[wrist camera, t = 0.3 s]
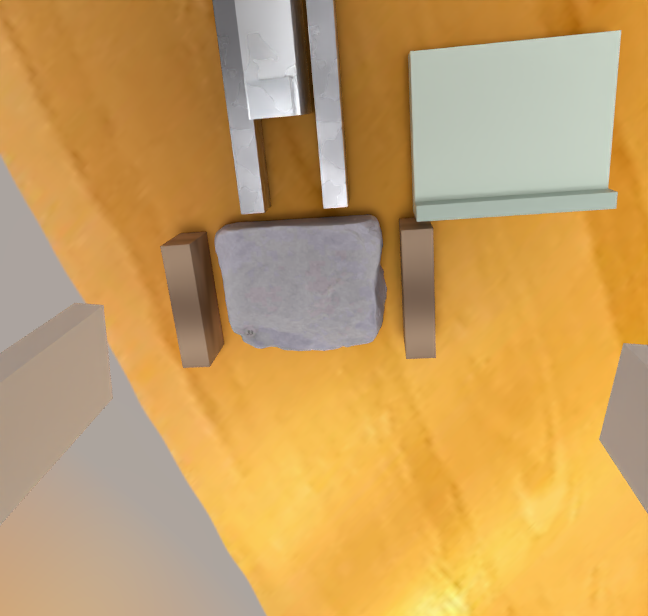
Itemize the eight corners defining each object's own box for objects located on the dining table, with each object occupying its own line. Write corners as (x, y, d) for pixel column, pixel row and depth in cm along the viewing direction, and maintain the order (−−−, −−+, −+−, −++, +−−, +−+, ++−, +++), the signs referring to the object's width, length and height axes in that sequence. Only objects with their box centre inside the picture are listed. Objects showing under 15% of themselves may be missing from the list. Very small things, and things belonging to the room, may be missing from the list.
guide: (215, -50, 35) (204, -61, 33) (330, -64, 34) (327, -76, 32) (249, 207, 40) (241, 214, 38) (349, 200, 39) (347, 206, 37)
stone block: (390, 320, 44) (382, 200, 39) (389, 356, 40) (381, 227, 35) (244, 326, 46) (219, 211, 41) (230, 361, 42) (199, 239, 37)
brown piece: (180, 233, 41) (160, 246, 38) (427, 216, 39) (433, 228, 36) (199, 345, 44) (183, 367, 41) (430, 335, 42) (435, 357, 39)
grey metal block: (252, -17, 35) (224, -45, 29) (300, -23, 35) (282, -52, 28) (267, 117, 38) (245, 119, 31) (311, 113, 38) (298, 115, 31)
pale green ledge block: (408, 54, 36) (411, 49, 32) (604, 35, 35) (632, 26, 31) (413, 210, 39) (416, 221, 36) (592, 198, 38) (616, 208, 34)
